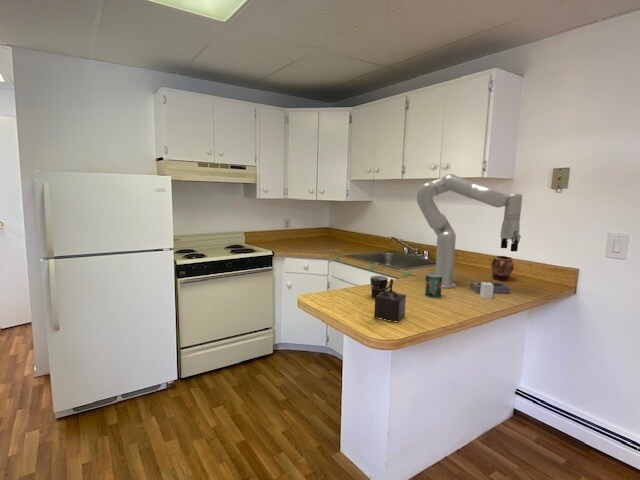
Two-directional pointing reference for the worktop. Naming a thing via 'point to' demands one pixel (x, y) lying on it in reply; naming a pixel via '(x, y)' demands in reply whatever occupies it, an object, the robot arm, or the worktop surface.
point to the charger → (486, 290)
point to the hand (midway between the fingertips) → (508, 249)
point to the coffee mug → (381, 286)
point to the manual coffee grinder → (388, 302)
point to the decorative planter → (502, 268)
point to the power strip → (496, 288)
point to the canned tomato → (433, 285)
